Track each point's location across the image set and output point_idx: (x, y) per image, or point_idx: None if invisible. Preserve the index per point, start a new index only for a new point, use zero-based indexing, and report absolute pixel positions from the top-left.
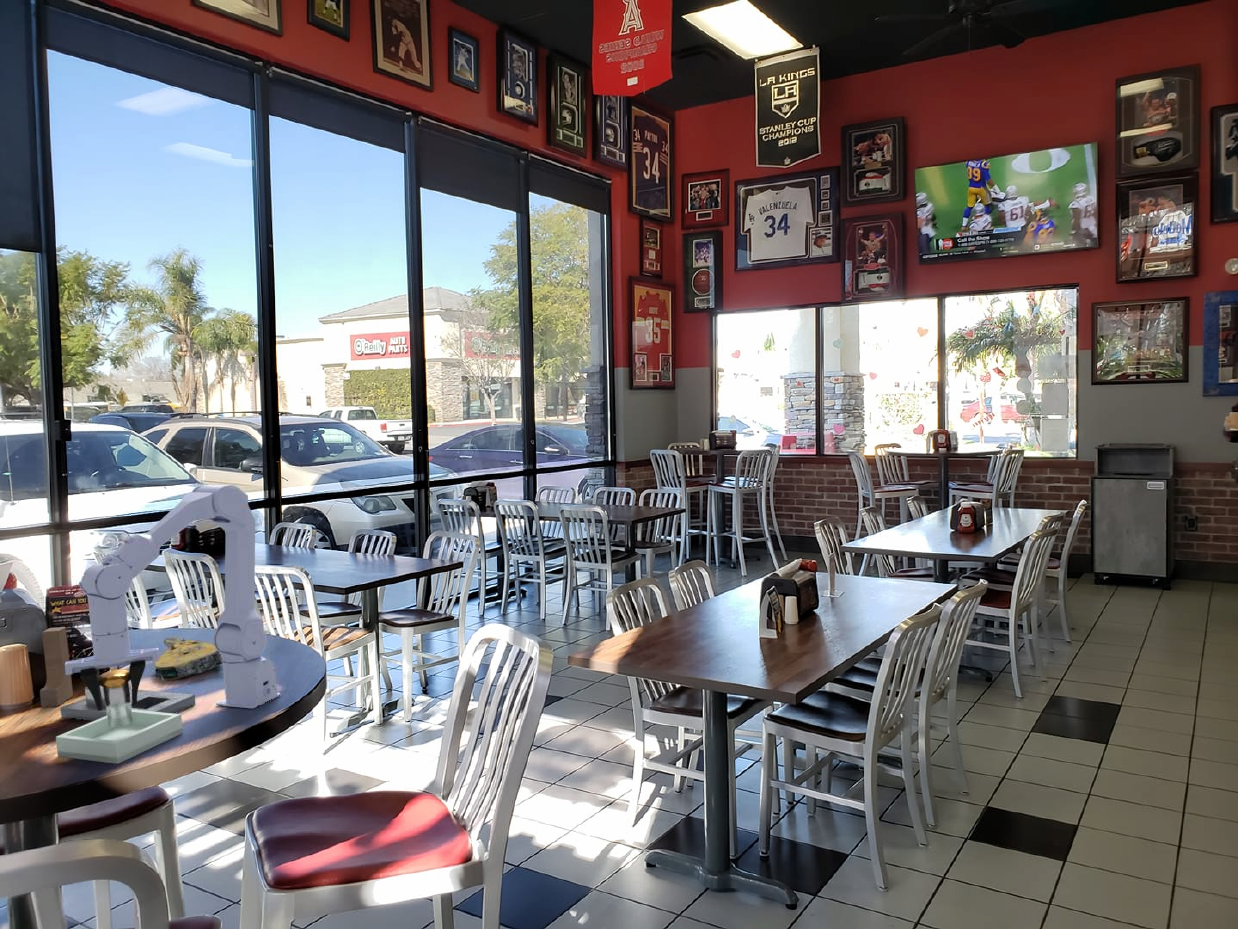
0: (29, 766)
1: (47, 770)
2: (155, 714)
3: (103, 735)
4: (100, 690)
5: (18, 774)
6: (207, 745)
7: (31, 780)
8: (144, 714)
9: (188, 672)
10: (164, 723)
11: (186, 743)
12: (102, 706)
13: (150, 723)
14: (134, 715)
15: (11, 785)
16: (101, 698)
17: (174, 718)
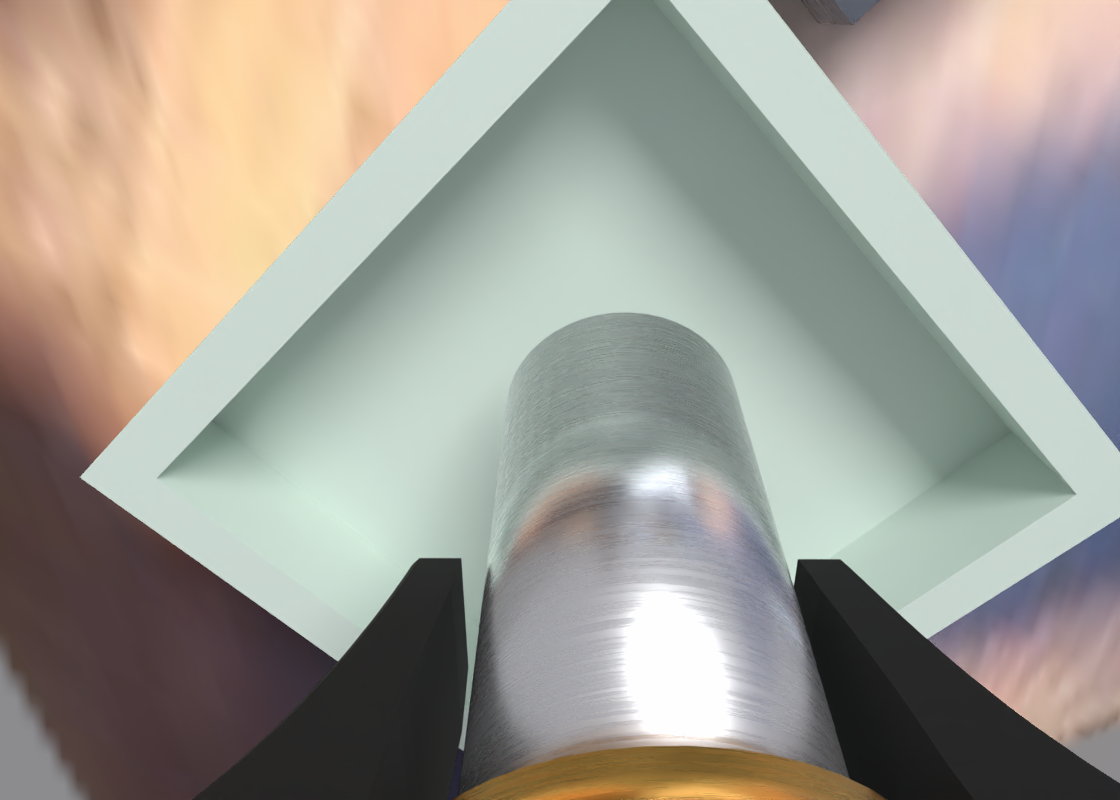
0: (18, 483)
1: (180, 614)
2: (952, 341)
3: (455, 245)
4: (410, 694)
5: (5, 586)
6: (1107, 719)
7: (136, 711)
8: (854, 228)
9: None
10: (967, 599)
11: (1012, 624)
12: (461, 628)
13: (867, 256)
14: (753, 109)
15: (42, 723)
16: (442, 678)
17: (1071, 537)
